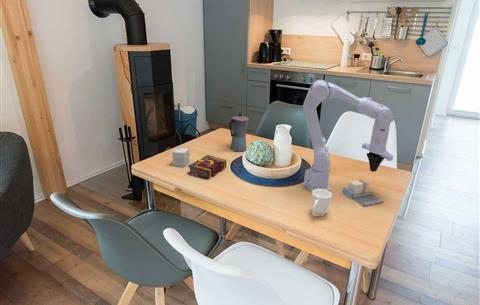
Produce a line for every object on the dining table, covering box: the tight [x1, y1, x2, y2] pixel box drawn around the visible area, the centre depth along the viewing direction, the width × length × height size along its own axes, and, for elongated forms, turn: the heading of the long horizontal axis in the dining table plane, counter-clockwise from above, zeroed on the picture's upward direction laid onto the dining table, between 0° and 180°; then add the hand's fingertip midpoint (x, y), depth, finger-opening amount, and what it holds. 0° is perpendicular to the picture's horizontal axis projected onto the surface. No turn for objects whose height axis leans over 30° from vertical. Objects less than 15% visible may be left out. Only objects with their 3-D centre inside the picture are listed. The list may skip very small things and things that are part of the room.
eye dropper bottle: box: [322, 136, 329, 152], centre depth 161 cm, size 4×6×12 cm
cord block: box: [348, 179, 371, 196], centre depth 129 cm, size 7×4×5 cm, turn 110°
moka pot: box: [228, 112, 250, 152], centre depth 171 cm, size 10×15×20 cm, turn 148°
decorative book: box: [187, 154, 227, 180], centre depth 147 cm, size 11×16×5 cm
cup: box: [312, 189, 333, 217], centre depth 114 cm, size 7×10×8 cm
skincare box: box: [171, 147, 191, 168], centre depth 154 cm, size 6×6×7 cm
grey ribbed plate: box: [341, 186, 385, 208], centre depth 127 cm, size 10×13×3 cm
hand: (373, 170), depth 128 cm, fingers closed
